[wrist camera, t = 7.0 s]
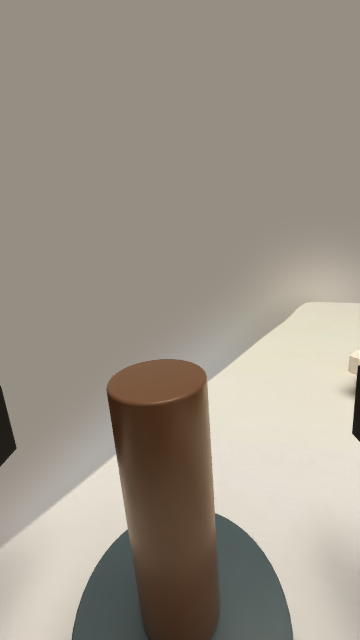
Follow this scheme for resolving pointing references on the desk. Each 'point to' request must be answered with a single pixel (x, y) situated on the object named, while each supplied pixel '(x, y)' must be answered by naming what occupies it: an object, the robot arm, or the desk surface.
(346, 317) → the desk surface
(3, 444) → the robot arm
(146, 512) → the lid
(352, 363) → the organizer
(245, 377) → the desk surface
